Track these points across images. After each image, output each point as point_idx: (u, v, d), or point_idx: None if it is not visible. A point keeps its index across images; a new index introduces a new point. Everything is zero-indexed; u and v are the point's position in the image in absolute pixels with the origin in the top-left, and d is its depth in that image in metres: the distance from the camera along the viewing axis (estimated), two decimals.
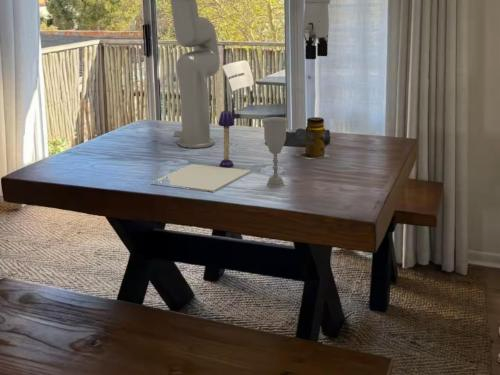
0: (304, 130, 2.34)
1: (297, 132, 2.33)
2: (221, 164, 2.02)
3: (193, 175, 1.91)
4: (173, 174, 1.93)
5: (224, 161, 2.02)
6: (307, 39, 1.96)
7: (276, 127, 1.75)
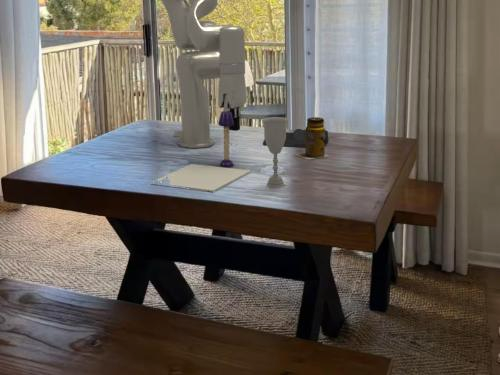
0: (302, 130, 2.33)
1: (295, 132, 2.32)
2: (221, 164, 2.02)
3: (193, 175, 1.91)
4: (173, 174, 1.93)
5: (224, 161, 2.02)
6: None
7: (276, 127, 1.75)
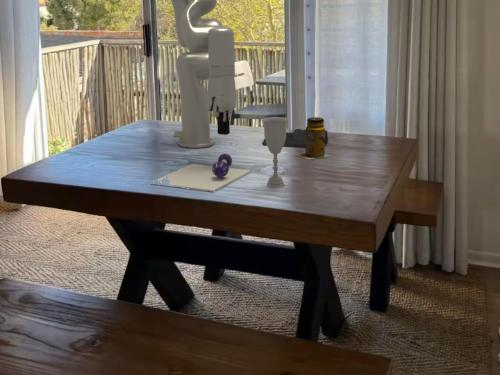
0: (302, 130, 2.33)
1: (295, 132, 2.32)
2: None
3: (193, 175, 1.91)
4: (173, 174, 1.93)
5: None
6: (218, 117, 1.95)
7: (276, 127, 1.75)
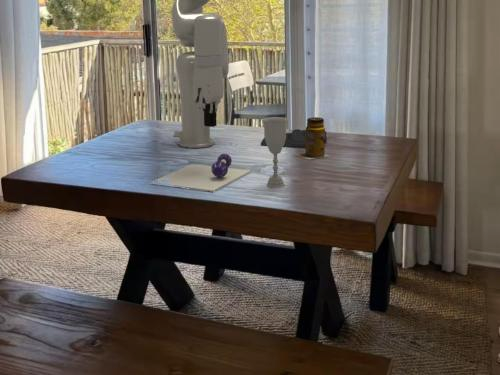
0: (300, 131, 2.32)
1: (293, 133, 2.32)
2: None
3: (193, 175, 1.91)
4: (173, 174, 1.93)
5: None
6: (204, 108, 1.88)
7: (276, 127, 1.75)
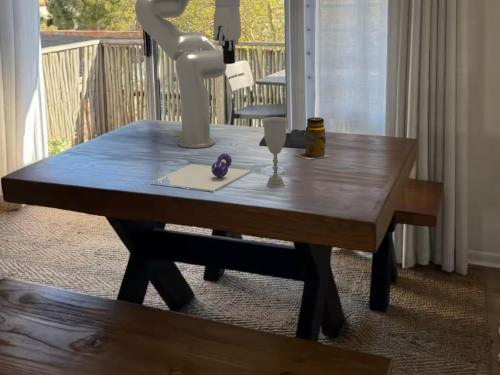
0: (299, 131, 2.32)
1: (292, 133, 2.31)
2: None
3: (193, 175, 1.91)
4: (173, 174, 1.93)
5: None
6: (224, 46, 2.06)
7: (276, 127, 1.75)
